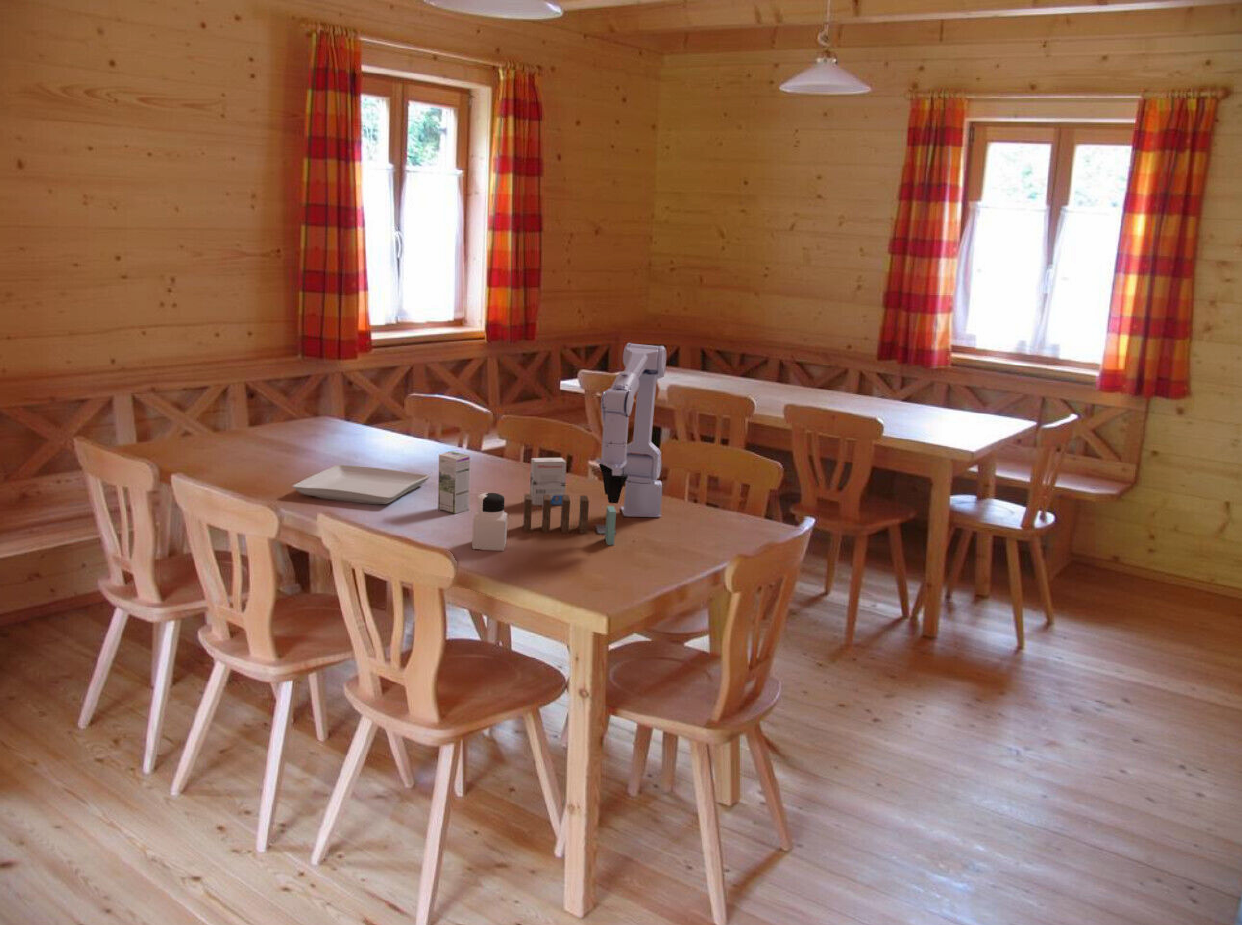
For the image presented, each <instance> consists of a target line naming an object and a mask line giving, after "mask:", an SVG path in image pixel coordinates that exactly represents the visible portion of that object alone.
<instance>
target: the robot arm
mask: <svg viewBox="0 0 1242 925" xmlns="http://www.w3.org/2000/svg"><path fill="white" fill-rule="evenodd" d="M622 362H623V365H624V367H625V368H624V370H623V371H621V372H619V373H618V374H617V375H616V377H615V379H614V381H613V382H612V385H611V387H610V388H608V389H606V390H604V391H603V392H602V396H601V400H600V401H601V402H600V410H601V422H603V423H602V424H603V425H602V441H601V442H602V444H601V458H596V460H595V462H596V463H597V464H598V466H599V468H600V471H601V474H602V481H603V488H604V493H605V495H607V501H608V503H609V504H618V503H619V501H620V497H621V493H622V490H623V487H624V485H625V488H624V501H623V502H624V504H623V506H620V509H621V512H622V514H623V517H633V518H635V517H638V518H639V517H641V518H661V516H662V515H661V514H662V512H661V511H662V498H663V497H662V496H663V484H662V481H661V480H659V478H660V475H661V473H662V472H661V471H662V452H661V450H660V448H658V447H657V446H656V445H655V444H654V443H653V441H652V436H653V425H654V414H655V412H654V411H655V401H656V392H657V391H656V389H657V385H658V384H657V383H658V379H662V378H665V374H666V365H667V350H666V348H665V346H664V345H653V344H650V345H649V344H639V343H632V342H628V343H626V345H625V346H624V349H623V355H622ZM635 396H636V401H635V400H634V398H635ZM634 402H635V412H634V425H633V436H632V441H631V442H629V443H628V437H629V436H628V434H629V417H630V416H631V414H632V411H633V406H634Z"/></svg>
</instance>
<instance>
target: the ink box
mask: <svg viewBox="0 0 1242 925" xmlns="http://www.w3.org/2000/svg"><path fill="white" fill-rule="evenodd" d="M566 478H567V461H566V460H565V459H564V458H563V457H531V461H530V480H529V481H530V484H529V494H531V496H532V506H543V494H545V495H550V497H551V506H559V505H561V506H562V495H566Z"/></svg>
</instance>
